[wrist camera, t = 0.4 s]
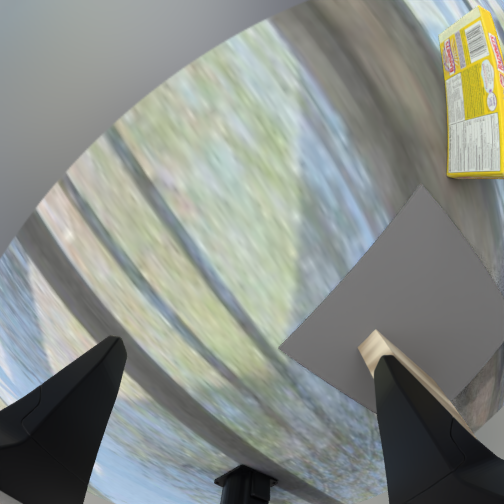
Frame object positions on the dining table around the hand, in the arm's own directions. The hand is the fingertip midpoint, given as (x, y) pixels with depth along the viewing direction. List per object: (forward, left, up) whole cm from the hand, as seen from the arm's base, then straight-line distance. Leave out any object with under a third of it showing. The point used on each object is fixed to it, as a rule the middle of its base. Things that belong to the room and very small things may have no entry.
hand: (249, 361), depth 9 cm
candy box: (+24, -5, -17) cm, 30 cm away
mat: (+4, -19, -16) cm, 25 cm away
